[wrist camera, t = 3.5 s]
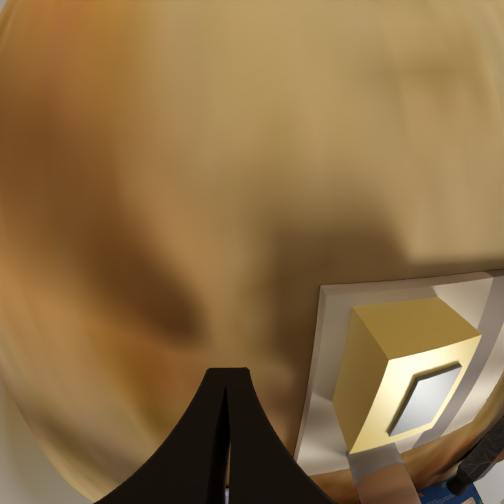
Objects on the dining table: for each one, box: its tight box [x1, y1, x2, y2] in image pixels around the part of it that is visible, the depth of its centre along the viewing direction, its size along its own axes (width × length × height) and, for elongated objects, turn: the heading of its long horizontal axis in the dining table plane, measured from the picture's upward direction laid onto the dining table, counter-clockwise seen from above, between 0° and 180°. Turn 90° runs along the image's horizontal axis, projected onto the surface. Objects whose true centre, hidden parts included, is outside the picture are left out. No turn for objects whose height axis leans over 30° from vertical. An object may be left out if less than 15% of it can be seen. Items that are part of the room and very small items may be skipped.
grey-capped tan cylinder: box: [346, 442, 421, 504], centre depth 9 cm, size 3×3×6 cm
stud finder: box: [332, 296, 482, 454], centre depth 8 cm, size 5×4×3 cm
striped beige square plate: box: [293, 269, 504, 476], centre depth 12 cm, size 14×16×1 cm
